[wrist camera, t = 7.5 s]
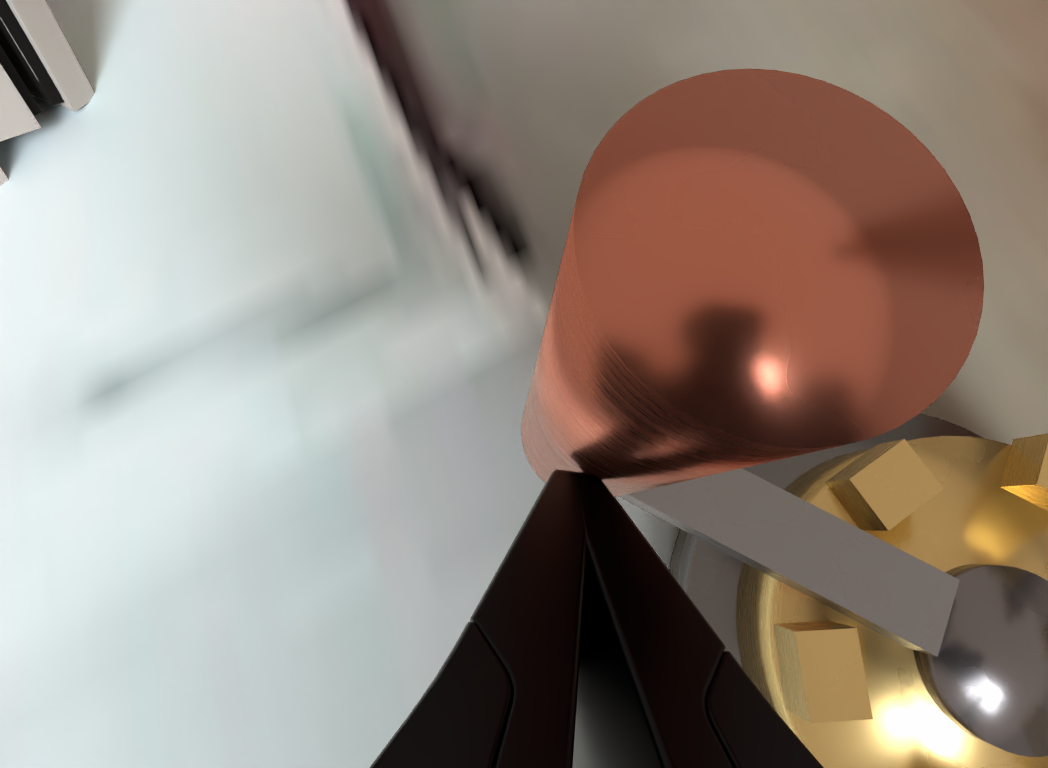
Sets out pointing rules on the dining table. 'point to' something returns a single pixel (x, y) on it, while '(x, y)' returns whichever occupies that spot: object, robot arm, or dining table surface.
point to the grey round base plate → (717, 573)
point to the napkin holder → (35, 68)
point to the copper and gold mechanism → (807, 411)
